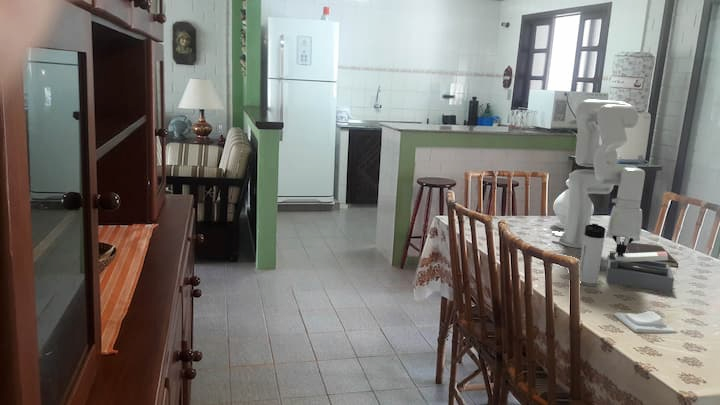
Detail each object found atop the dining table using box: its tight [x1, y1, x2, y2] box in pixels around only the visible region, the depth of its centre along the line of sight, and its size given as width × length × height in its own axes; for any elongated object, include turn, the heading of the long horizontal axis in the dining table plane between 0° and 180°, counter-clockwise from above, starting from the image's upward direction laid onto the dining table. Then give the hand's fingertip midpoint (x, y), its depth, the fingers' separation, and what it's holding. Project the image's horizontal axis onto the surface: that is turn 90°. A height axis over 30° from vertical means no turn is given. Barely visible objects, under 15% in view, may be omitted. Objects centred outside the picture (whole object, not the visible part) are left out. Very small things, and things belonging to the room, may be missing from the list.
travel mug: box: [579, 223, 606, 287], centre depth 191 cm, size 6×7×20 cm
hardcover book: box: [621, 240, 679, 268], centre depth 230 cm, size 16×23×2 cm
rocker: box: [615, 251, 668, 262], centre depth 198 cm, size 16×5×2 cm, turn 67°
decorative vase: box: [552, 172, 595, 230], centre depth 267 cm, size 18×18×25 cm
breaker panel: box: [605, 250, 675, 294], centre depth 199 cm, size 20×16×7 cm
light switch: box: [613, 310, 678, 334], centre depth 162 cm, size 11×4×13 cm
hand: (620, 254), depth 200 cm, fingers closed
